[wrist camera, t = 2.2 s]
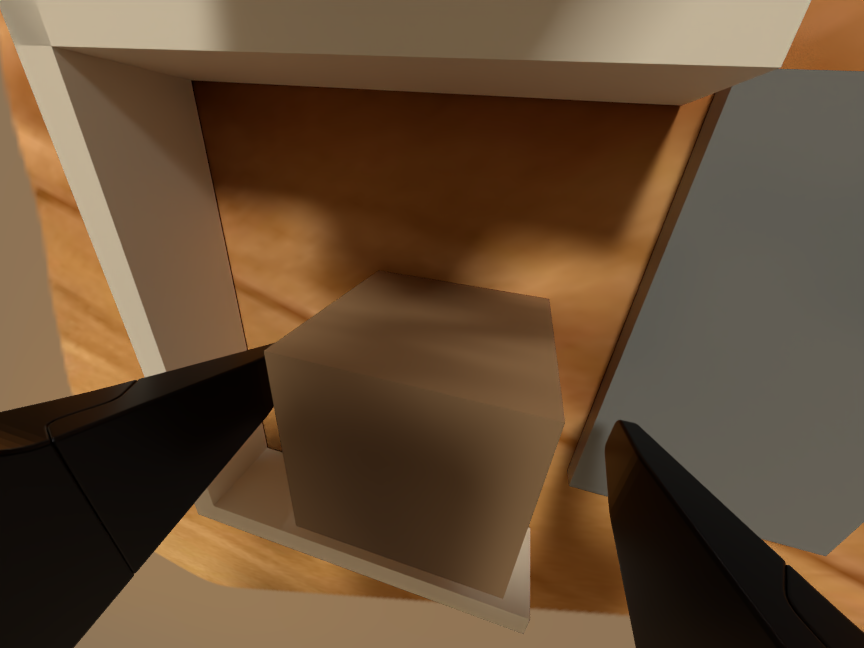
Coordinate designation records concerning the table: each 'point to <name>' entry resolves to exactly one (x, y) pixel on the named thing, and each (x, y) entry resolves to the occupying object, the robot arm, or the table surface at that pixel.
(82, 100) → the white u-shaped frame
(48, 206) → the table surface
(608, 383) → the slate coaster
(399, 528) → the walnut block
